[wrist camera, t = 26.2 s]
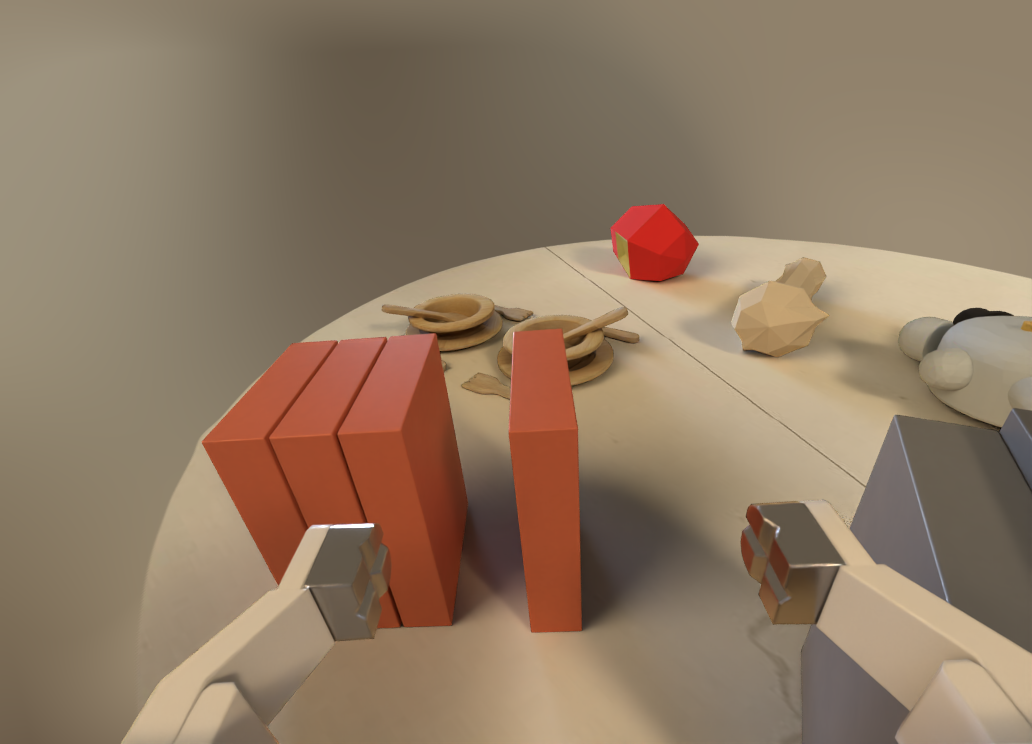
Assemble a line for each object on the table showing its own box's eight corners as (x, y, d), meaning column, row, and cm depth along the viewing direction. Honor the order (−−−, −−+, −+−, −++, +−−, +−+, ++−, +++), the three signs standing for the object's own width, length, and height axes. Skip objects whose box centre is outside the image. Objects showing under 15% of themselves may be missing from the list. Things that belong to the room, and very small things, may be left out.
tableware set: (643, 340, 59) (646, 295, 55) (557, 423, 46) (554, 369, 43) (466, 300, 75) (461, 263, 72) (366, 352, 62) (354, 310, 59)
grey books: (1008, 1000, 16) (1493, 794, 7) (803, 889, 18) (985, 639, 10) (939, 700, 23) (1139, 424, 15) (800, 650, 26) (902, 391, 17)
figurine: (1257, 492, 32) (1060, 370, 49) (1343, 377, 28) (1098, 289, 45) (939, 454, 37) (862, 356, 54) (978, 353, 34) (882, 283, 51)
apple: (644, 301, 72) (585, 259, 81) (699, 286, 77) (637, 248, 87) (667, 226, 64) (598, 189, 74) (726, 215, 70) (655, 181, 79)
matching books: (452, 625, 29) (401, 429, 21) (302, 631, 29) (200, 442, 22) (468, 503, 37) (436, 332, 30) (352, 509, 38) (291, 342, 30)
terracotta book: (582, 631, 28) (577, 428, 20) (531, 632, 28) (508, 432, 20) (568, 504, 37) (562, 328, 29) (529, 506, 37) (513, 331, 29)
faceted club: (709, 348, 53) (761, 285, 71) (785, 385, 50) (821, 310, 67) (744, 278, 48) (792, 228, 65) (833, 314, 45) (859, 252, 62)
